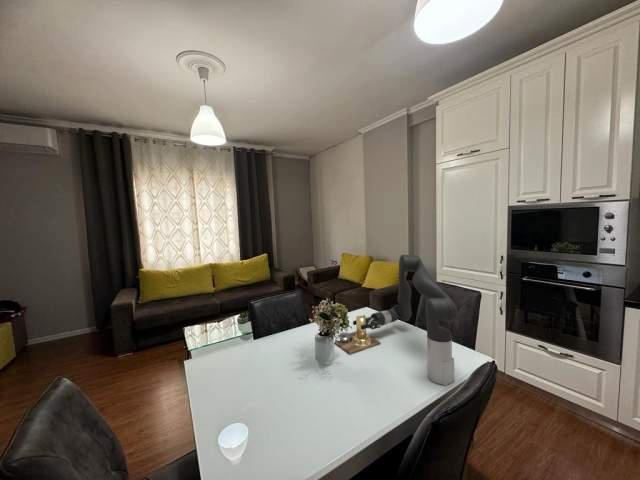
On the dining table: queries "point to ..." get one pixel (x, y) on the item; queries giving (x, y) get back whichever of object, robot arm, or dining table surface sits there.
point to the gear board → (356, 345)
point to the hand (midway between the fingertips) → (357, 325)
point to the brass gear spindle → (361, 332)
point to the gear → (345, 338)
